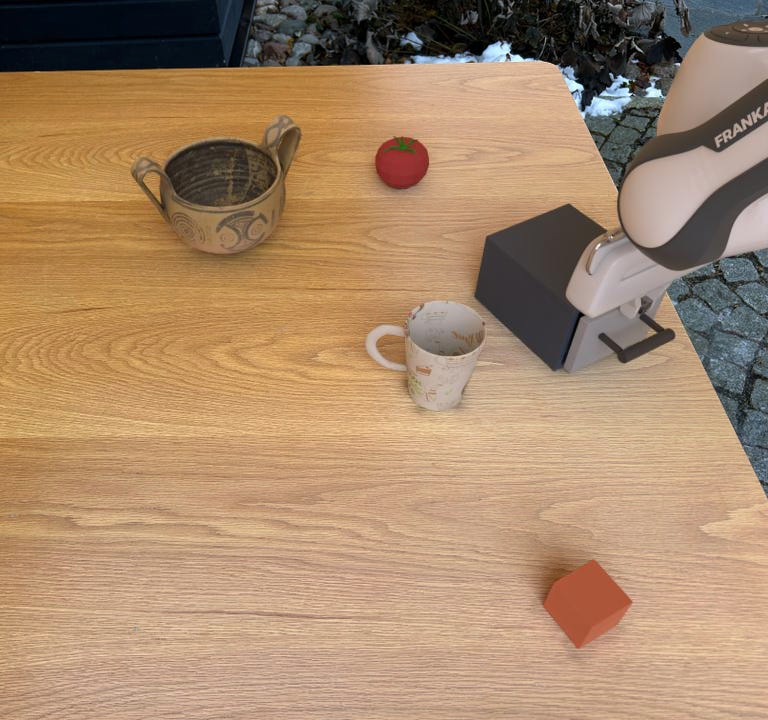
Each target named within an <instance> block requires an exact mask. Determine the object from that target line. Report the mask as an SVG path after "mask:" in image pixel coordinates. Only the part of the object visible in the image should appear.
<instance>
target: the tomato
mask: <svg viewBox="0 0 768 720" xmlns="http://www.w3.org/2000/svg"><path fill="white" fill-rule="evenodd" d="M374 165H375V171H376V172H375V173H376V174H377V177H379V178H380V179H381V180H382V182H383V183H385V184H386V185H387V186H388V187H391V188H395V189H409V188H411V187H413V186H415V185H417V184H418V183H419V182H421V181H422V180H423V179H424V177H425V176H426V175H427V173H428V170H429V168H430V157H429V152H428V149H427V147H426V146H425V145H424V144H423V143H422V142H420V140H418V139H416V138H413V137H408V136H403V135H402V136H395V135H393V138H390V139H388V140H386V141H385V142H383V143H382V144H381V145H380V146H379V147H378V149H377V151H376V154H375V156H374Z"/></svg>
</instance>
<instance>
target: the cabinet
mask: <svg viewBox="0 0 768 720" xmlns="http://www.w3.org/2000/svg"><path fill="white" fill-rule="evenodd" d="M607 231H608V230H607V229H606V228H604V227H603V226H602V225H600V224H599V223H597V222H596V221H594V220H593V219H592V218H591V217H589V216H588V215H587V214H585V213H584V212H583V211H581V210H579V209H578V208H577V207H575V206H574V205H572V204H571V203H566V204H563V205H561V206H559V207H556V208H553V209H550V210H549V211H546V212H543V213H541V214H538V215H536V216H533V217H531V218H528V219H526V220H524V221H520V222H518V223H515V224H513V225H511V226H508V227H505V228H503V229H500V230H498V231H495V232H493V233H490V234H488V235H486V236H485V240H484V245H483V250H482V255H481V260H480V265H479V270H478V275H477V281H476V285H475V289H474V290H475V291H474V296H473V297H474V298H475V300H477V302H479V303H480V304H481V305H482V306H483V307H484V308H485V309H486V310H487V311H488V312H489V313H490V314H492V315H493V316H494V317H495V318H496V319H497V320H498V321H499V322H500V323H502V325H503V326H504V327H506V328H507V329H508V330H509V331H510V332H511V333H512V334H513V335H514V336H515V337H517V339H518V340H519V341H521V343H522V344H524V345H525V346H526V347H527V348H528V349H529V350H530V351H531V352H532V353H533V354H534V355H535V356H537V358H539V359H540V360H541V361H542V362H543V363H544V364H545V365H546V366H548V368H550V369H551V371H553V372H555V371H556V372H557V371H558V370H560V369H562V368H564V364H565V361H566V358H567V355H568V352H567V353H565V351H566V348H567V345H568V342H569V339H570V336H571V333H572V331H573V328H574V325H575V322H576V319H577V316H578V313H580V311H579V310H578V309H577V308H575V307H574V306H573V305H572V304H571V303H570V302H569V301H568V299H567V297H566V289H567V287H568V284H569V282H570V279H571V277H572V274H573V272H574V270H575V268H576V266H577V264H578V262H579V260H580V258H581V256H582V254H583V252H584V251H585V249H586V248H587V246H588V245H589V244H590V243H591V242H592V241H593V240H594V239H596V238H597V237H599V236H601V235H603V234H605V233H606V232H607Z"/></svg>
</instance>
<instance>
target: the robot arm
mask: <svg viewBox="0 0 768 720" xmlns="http://www.w3.org/2000/svg"><path fill="white" fill-rule="evenodd" d="M616 212H617V218H618V223H619V225H620V226H619V227H618V226H615V227H613V228H610V229H609V230H607V232H606V233H605V234H603V235H601V236H599V237H597V238H596V239H594V240H593V241H592V242H591V243H590V244H589V245H588V246H587V248H586V249H585V251H584V252H583V254H582V256H581V258H580V260H579V262H578V264H577V266H576V268H575V270H574V272H573V274H572V277H571V279H570V282H569V284H568V287H567V289H566V297H567V299H568V301H569V302H570V303H571V304H572V305H573V306H574V307H575V308H577V309H578V310H579V311H580V312H582V313H583V314H585V315H586V316H587V317H589V318H595V317H597V316H599V315H601V314H603V313H606V312H608V311H610V310H612V309H614V308H616V307H618V306H620V311H621V313H622V314H624V315H625V316H626V317H627V318H629V319H632V318H634V317H636V316H638V315H640V314H642V313H645V312H647V311H649V310H651V309H653V306H654V304H655V302H656V300H657V298H659V297H660V296H661V295H662V293H663V292H664V291H665V290H666V289H667V290H668V288H670V286H671V285H672V283H673V282H675V281H677V280H678V279H681V278H682V277H685V276H687V275H689V274H691V273H693V272H695V271H697V270H700V269H702V268H704V267H706V266H708V265H709V266H710V265H711V264H713V263H715V262H717V261H720V260H721V259H725V258H729V257H733V256H738V255H742V254H747V253H752V252H757V251H761V250H766V249H768V20H742V21H735V22H729V23H725V24H724V23H723V24H720V25H715V26H712V27H710V28H709V29H707V30H704V31H702V33H700V35H699V36H698V37H697V38H696V39H695V40H694V42H693V43H692V45H690V47H689V49H688V50H687V52H686V54H685V55H684V57H683V59H682V61H681V62H680V65H679V67H678V69H677V70H676V73H675V75H674V77H673V79H672V82H671V84H670V86H669V89H668V91H667V94H666V97H665V99H664V102H663V104H662V107H661V110H660V112H659V116H658V118H657V122H656V136H654V137H652V138H650V139H649V140H648V141H647V142H645V143H644V144H643V145H642V147H641V148H640V149H639V150H638V152H637V153H636V154H635V156H634V157H633V159H632V160H631V162H630V163H629V165H628V167H627V168H626V171H625V173H624V175H623V177H622V179H621V182H620V185H619V189H618V191H617V197H616ZM667 290H666V291H667Z"/></svg>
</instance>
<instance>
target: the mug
mask: <svg viewBox="0 0 768 720" xmlns="http://www.w3.org/2000/svg"><path fill="white" fill-rule="evenodd" d="M387 335H392V336H397V337H401V338H404V348H405V359H406V360H405V362H406V363H405V364H404V363H399V362H394V361H392V360H388V358H386V357H384V356H383V355H382V354H381V352H380V351H379V349H378V347H377V342H378V340H380V338H382V337H383V336H387ZM487 336H488V328H487V325H486V322H485V321H484V319H483V317H482V316H481V315H480V314H479V313H478V312H477V311H475V310H474V309H472V307H470V306H467V305H466V304H463V303H461V302H457V301H452V300H443V299H442V300H430V301H427V302H424V303H421V304H419V305H417V306H416V307H414V308H413V309H412V310H411V311H410V312H409V314H407V316H406V318H405V321H404V326H403V325H396V324H387V323H386V324H385V323H383V324H379V325H377V326H375V327H374V328H372V329H371V330H370V331H369V332H368V333H367V335H366V337H365V340H364V347H365V350H366V352H367V353H368V355H369V356H370V357H371V358H372V359H373V361H375V362H376V363H378V364H379V365H380V366H382V367H384V368H386V369H387V370H388V369H389V370H394V371H399V372H406V376H407V377H406V378H407V388H408V394H409V396H410V398H411V400H412V401H413V402H414V403H415V404H416V405H418V406H419V407H420V408H423V409H425V410H428V411H433V412H443V411H448V410H450V409H451V410H452V409H453V408H454V407H456V406H457V405H458V404H459V403H460V402H461V400H462V398H463V396H464V395H465V391H466V389H467V387H468V384H469V382H470V380H471V377H472V375H473V374H474V370H475V368H476V366H477V363H478V362H479V359H480V356H481V353H482V352H483V349H484V347H485V344H486V341H487Z"/></svg>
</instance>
